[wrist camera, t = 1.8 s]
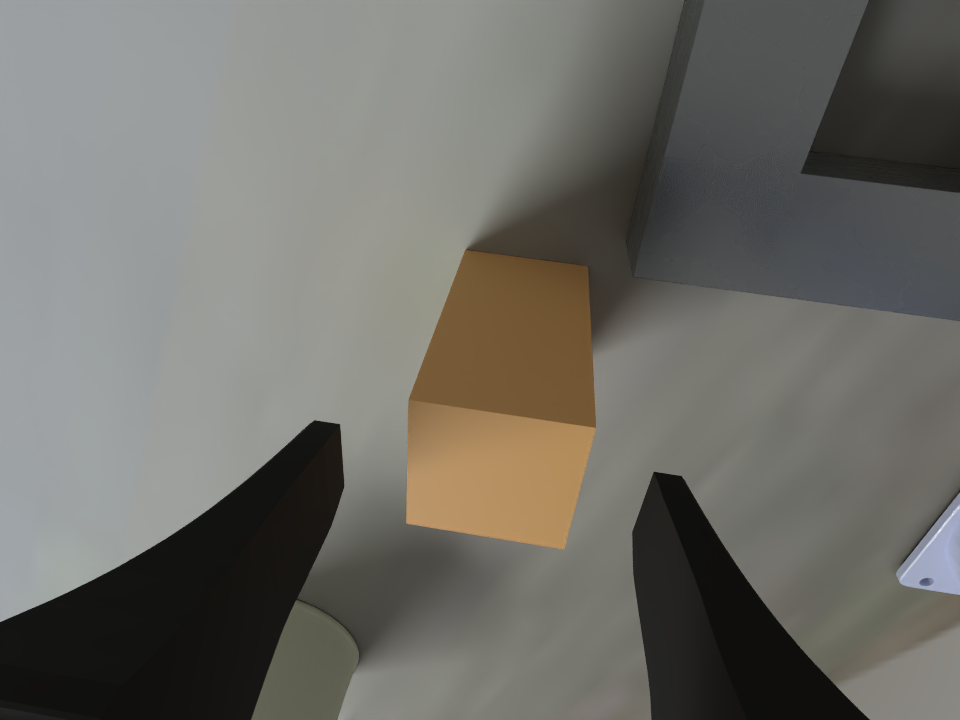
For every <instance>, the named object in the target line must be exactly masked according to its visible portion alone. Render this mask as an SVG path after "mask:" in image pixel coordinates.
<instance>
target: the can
mask: <svg viewBox="0 0 960 720" xmlns="http://www.w3.org/2000/svg"><path fill="white" fill-rule="evenodd" d="M358 662H359V651H358V647H357V644H356V642H355V641H354V639H353V637H352V636H351V634H350V633H349V632H348V631H347V630H346V629H345V628H344V627H343V626H342V625H341V624H340V623H339V622H338V621H336V620H335V619H334V618H332V617H331V616H329V615H328V614H326V613H325V612H323V611H321V610H319V609H317V608H315V607H313V606H311V605H309V604H306V603H304V602H301V601H299V600H296V602H295V604H294V606H293V608H292V610H291V612H290V615H289V617H288V619H287V622H286V624H285V626H284V629H283V631H282V634H281V636H280V639H279V642H278V645H277V647H276V650H275V653H274V656H273V658H272V661H271V664H270V667H269V669H268V672H267V675H266V678H265V681H264V684H263V687H262V690H261V692H260V695H259V698H258V701H257V704H256V707H255V710H254V713H253V716H252V719H251V720H337V719H338V716H339V713H340V710H341V707H342V703H343V700H344V697H345V694H346V691H347V688H348V686H349V683H350V680H351V677H352V675H353V673H354V671H355V670H356V668H357V665H358Z"/></svg>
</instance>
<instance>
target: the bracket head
mask: <svg viewBox="0 0 960 720" xmlns="http://www.w3.org/2000/svg"><path fill="white" fill-rule="evenodd" d="M868 1H869V0H685V2H684V6H683V10H682V14H681V18H680V22H679V26H678V31H677V35H676V39H675V43H674V47H673V51H672V55H671V59H670V64H669V68H668V72H667V76H666V80H665V84H664V88H663V92H662V97H661V101H660V105H659V109H658V113H657V117H656V121H655V125H654V130H653V134H652V138H651V142H650V146H649V150H648V154H647V158H646V163H645V167H644V171H643V175H642V179H641V183H640V187H639V191H638V196H637V200H636V204H635V208H634V212H633V216H632V220H631V224H630V229H629V233H628V237H627V241H626V243H627V248H628V253H629V259H630V264H631V269H632V274H633V277H636V278H643V279H651V280H658V281H666V282H673V283H680V284H688V285H695V286H703V287H710V288H718V289H725V290H733V291H740V292H747V293H755V294H762V295H770V296H777V297H785V298H792V299H800V300H807V301H814V302H822V303H829V304H837V305H844V306H852V307H859V308H867V309H874V310H881V311H889V312H896V313H904V314H911V315H919V316H926V317H934V318H941V319H948V320H956V321H960V170H959V169H950V168H942V167H933V166H925V165H917V164H908V163H900V162H892V161H883V160H875V159H866V158H858V157H850V156H841V155H833V154H824V153H816V152H809V151H810V148H811V145H812V143H813V140H814V138H815V135H816V133H817V130H818V128H819V125H820V123H821V120H822V118H823V115H824V113H825V110H826V108H827V105H828V102H829V100H830V97H831V95H832V92H833V90H834V87H835V85H836V82H837V80H838V77H839V75H840V72H841V70H842V67H843V65H844V62H845V59H846V57H847V54H848V52H849V49H850V47H851V44H852V42H853V39H854V37H855V34H856V32H857V29H858V27H859V24H860V22H861V19H862V17H863V14H864V11H865V9H866V6H867V4H868Z"/></svg>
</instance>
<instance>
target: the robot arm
mask: <svg viewBox="0 0 960 720" xmlns="http://www.w3.org/2000/svg"><path fill="white" fill-rule="evenodd" d="M343 489H344V474H343V460H342V445H341V431H340V424H335V423H328V422H322V421H315V420H314V421H313V422H312V423H310V424H309V425H308V426H307V427H306V428H305V429H304V430H303V431H301V432H300V433H299V434H298V435H297V436H296V437H295V438H294V439H293V440H292V441H291V442H290V443H288V444H287V445H286V446H285V447H284V448H283V449H282V450H281V451H280V452H278V453H277V454H276V455H275V456H274V457H273V458H272V459H271V460H269V461H268V462H267V463H266V464H265V465H264V466H262V467H261V468H260V469H259V470H258V471H257V472H255V473H254V474H253V475H252V476H251V477H250V478H248V479H247V480H246V481H245V482H244V483H242V484H241V485H240V486H239V487H237V488H236V489H235V490H233V491H232V492H231V493H230V494H228V495H227V496H226V497H224V498H223V499H222V500H221V501H219V502H218V503H217V504H215V505H214V506H213V507H211V508H210V509H209V510H207V511H206V512H205V513H203V514H202V515H200V516H199V517H198V518H196V519H195V520H193V521H192V522H190V523H189V524H188V525H186V526H185V527H183V528H182V529H180V530H179V531H177V532H176V533H174V534H173V535H171V536H169V537H168V538H166V539H165V540H163V541H161V542H160V543H158V544H156V545H155V546H153V547H152V548H150V549H148V550H146V551H145V552H143V553H141V554H140V555H138V556H136V557H134V558H133V559H131V560H129V561H128V562H126V563H124V564H122V565H121V566H119V567H117V568H115V569H113V570H111V571H109V572H107V573H106V574H104V575H102V576H100V577H98V578H96V579H94V580H92V581H90V582H88V583H86V584H84V585H82V586H80V587H78V588H76V589H74V590H72V591H70V592H68V593H66V594H63V595H61V596H59V597H57V598H55V599H53V600H50V601H48V602H46V603H44V604H41V605H39V606H37V607H34V608H32V609H30V610H27V611H25V612H23V613H20V614H18V615H16V616H13V617H11V618H9V619H6V620H4V621H2V622H0V720H251V719H252V716H253V713H254V710H255V707H256V704H257V701H258V698H259V695H260V692H261V690H262V687H263V684H264V681H265V678H266V675H267V672H268V669H269V667H270V664H271V661H272V658H273V656H274V653H275V650H276V647H277V645H278V642H279V639H280V636H281V634H282V631H283V629H284V626H285V624H286V622H287V619H288V617H289V615H290V612H291V610H292V608H293V606H294V604H295V602H296V600H297V598H298V595H299V593H300V591H301V589H302V587H303V585H304V583H305V581H306V579H307V577H308V574H309V572H310V570H311V568H312V566H313V564H314V562H315V560H316V558H317V556H318V553H319V551H320V549H321V547H322V545H323V543H324V541H325V538H326V536H327V534H328V532H329V530H330V528H331V525H332V522H333V519H334V516H335V514H336V511H337V508H338V505H339V501H340V498H341V495H342V492H343ZM632 536H633V575H634V582H635V590H636V597H637V604H638V610H639V617H640V624H641V630H642V637H643V644H644V650H645V657H646V664H647V670H648V678H649V688H650V698H651V717H652V720H869V719H868V718H867V717H866V716H865V715H864V714H863V713H862V712H861V711H860V710H859V709H858V708H857V707H856V706H855V705H854V704H853V703H852V702H851V701H850V700H849V699H848V698H847V697H846V696H845V695H844V694H843V693H842V692H841V691H840V690H839V689H838V688H837V687H836V686H835V685H834V683H833V682H832V681H831V680H830V679H829V678H828V677H827V676H826V675H825V674H824V673H823V672H822V671H821V670H820V669H819V668H818V667H817V666H816V665H815V664H814V663H813V661H812V660H811V659H810V658H809V657H808V656H807V655H806V654H805V653H804V651H803V650H802V649H801V648H800V647H799V646H798V645H797V643H796V642H795V641H794V640H793V639H792V637H791V636H790V635H789V634H788V633H787V632H786V630H785V629H784V628H783V627H782V626H781V624H780V623H779V622H778V621H777V619H776V618H775V617H774V616H773V614H772V613H771V612H770V610H769V609H768V608H767V607H766V605H765V604H764V603H763V601H762V600H761V599H760V597H759V596H758V594H757V593H756V592H755V590H754V589H753V588H752V586H751V585H750V584H749V582H748V581H747V579H746V578H745V576H744V575H743V574H742V572H741V571H740V569H739V568H738V566H737V565H736V563H735V562H734V560H733V559H732V557H731V556H730V554H729V553H728V551H727V550H726V548H725V547H724V545H723V544H722V542H721V541H720V539H719V537H718V536H717V534H716V533H715V531H714V529H713V528H712V526H711V524H710V523H709V521H708V519H707V518H706V516H705V515H704V513H703V511H702V509H701V508H700V506H699V504H698V503H697V501H696V499H695V498H694V496H693V494H692V492H691V491H690V489H689V487H688V485H687V484H686V482H685V480H684V479H683V478H682V476H678V475H671V474H664V473H658V472H654V473H653V476H652V478H651V481H650V484H649V487H648V490H647V492H646V495H645V498H644V501H643V504H642V506H641V509H640V512H639V515H638V518H637V520H636V523H635V526H634V529H633V532H632ZM896 575H897V577H898V579H899V581H900V583H901V584H902V585H905V586H908V587H914V588H920V589H927V590H933V591H939V592H945V593H951V594H958V595H960V493H959V494H958V495H957V497H956V498H955V499H954V500H953V502H952V503H951V504H950V505H949V507H948V508H947V509H946V510H945V512H944V513H943V514H942V515H941V517H940V518H939V519H938V520H937V522H936V523H935V524H934V525H933V527H932V528H931V529H930V530H929V532H928V533H927V534H926V536H925V537H924V538H923V539H922V541H921V542H920V543H919V544H918V546H917V547H916V548H915V549H914V551H913V552H912V553H911V554H910V556H909V557H908V558H907V559H906V561H905V562H904V563H903V564H902V566H901V567H900V568H899V569H898V571H897V573H896Z"/></svg>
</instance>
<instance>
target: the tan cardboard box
mask: <svg viewBox="0 0 960 720" xmlns="http://www.w3.org/2000/svg"><path fill="white" fill-rule="evenodd" d="M595 430H596V417H595V397H594V377H593V357H592V337H591V317H590V297H589V277H588V266H582V265H575V264H567V263H560V262H552V261H545V260H537V259H530V258H522V257H515V256H507V255H500V254H492V253H485V252H477V251H470V250H465V252H464V255H463V258H462V260H461V263H460V266H459V268H458V271H457V273H456V276H455V279H454V281H453V284H452V287H451V289H450V292H449V295H448V297H447V300H446V302H445V305H444V308H443V310H442V313H441V316H440V318H439V321H438V324H437V326H436V329H435V332H434V334H433V337H432V339H431V342H430V345H429V347H428V350H427V353H426V355H425V358H424V361H423V363H422V366H421V368H420V371H419V374H418V376H417V379H416V382H415V384H414V387H413V390H412V392H411V395H410V397H409V406H408V459H407V511H406V524H412V525H418V526H424V527H430V528H436V529H442V530H448V531H455V532H461V533H467V534H473V535H479V536H485V537H491V538H497V539H503V540H510V541H516V542H522V543H528V544H534V545H540V546H546V547H552V548H558V549H565V545H566V541H567V537H568V533H569V530H570V526H571V522H572V518H573V514H574V510H575V507H576V503H577V499H578V495H579V491H580V487H581V484H582V480H583V476H584V472H585V468H586V465H587V461H588V457H589V453H590V449H591V445H592V442H593V438H594V434H595Z"/></svg>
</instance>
